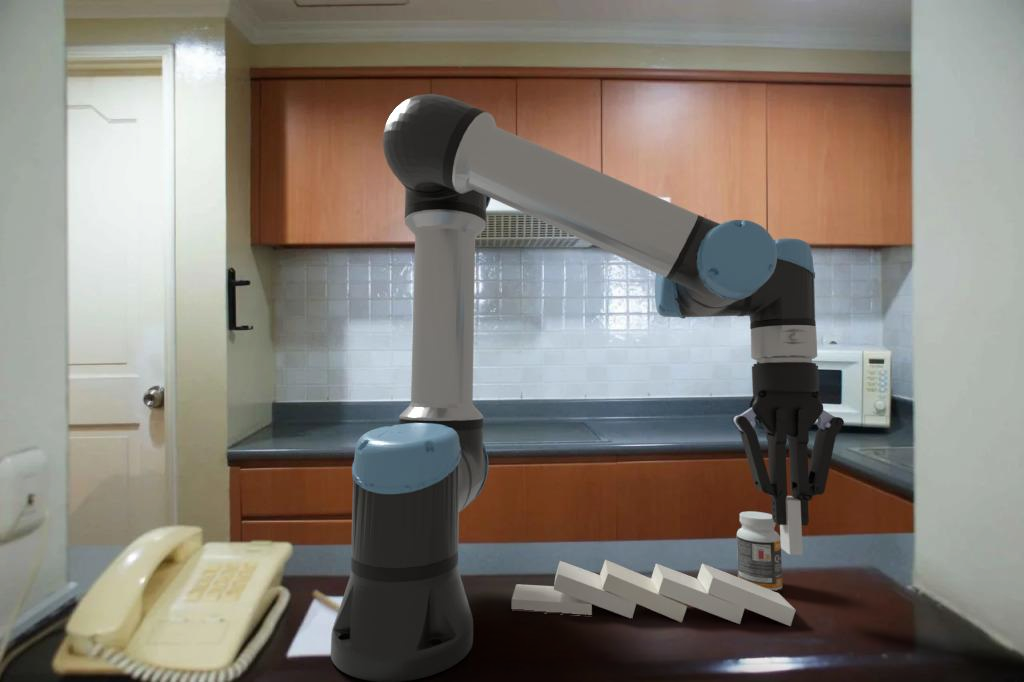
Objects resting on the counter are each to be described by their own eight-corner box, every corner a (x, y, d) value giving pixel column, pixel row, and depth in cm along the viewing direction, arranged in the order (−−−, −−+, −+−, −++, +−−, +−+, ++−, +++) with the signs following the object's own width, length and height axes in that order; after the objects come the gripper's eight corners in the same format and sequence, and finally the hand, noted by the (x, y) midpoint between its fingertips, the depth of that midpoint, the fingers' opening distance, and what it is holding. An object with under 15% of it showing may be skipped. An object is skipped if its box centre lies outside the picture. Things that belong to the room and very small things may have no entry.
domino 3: (681, 622, 62) (602, 588, 64) (673, 604, 67) (600, 573, 69) (687, 606, 62) (608, 573, 64) (678, 590, 67) (605, 559, 69)
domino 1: (591, 621, 64) (511, 615, 65) (591, 604, 69) (516, 599, 70) (591, 604, 64) (511, 599, 65) (590, 588, 69) (516, 584, 70)
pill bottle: (788, 596, 70) (785, 521, 71) (743, 592, 71) (740, 518, 72) (775, 580, 76) (773, 511, 77) (734, 577, 77) (732, 509, 78)
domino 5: (790, 626, 61) (707, 593, 63) (773, 608, 66) (697, 577, 68) (795, 610, 61) (712, 577, 63) (778, 593, 66) (702, 563, 68)
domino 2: (631, 618, 63) (553, 589, 65) (628, 602, 68) (555, 575, 70) (636, 602, 63) (557, 573, 65) (632, 587, 68) (559, 560, 70)
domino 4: (739, 624, 62) (658, 593, 63) (726, 606, 67) (651, 578, 68) (744, 608, 62) (663, 577, 63) (731, 591, 67) (655, 563, 68)
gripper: (740, 360, 63) (747, 559, 61) (854, 360, 62) (864, 564, 60) (722, 362, 71) (727, 540, 69) (823, 362, 69) (831, 544, 67)
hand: (791, 551), depth 64 cm, fingers closed
